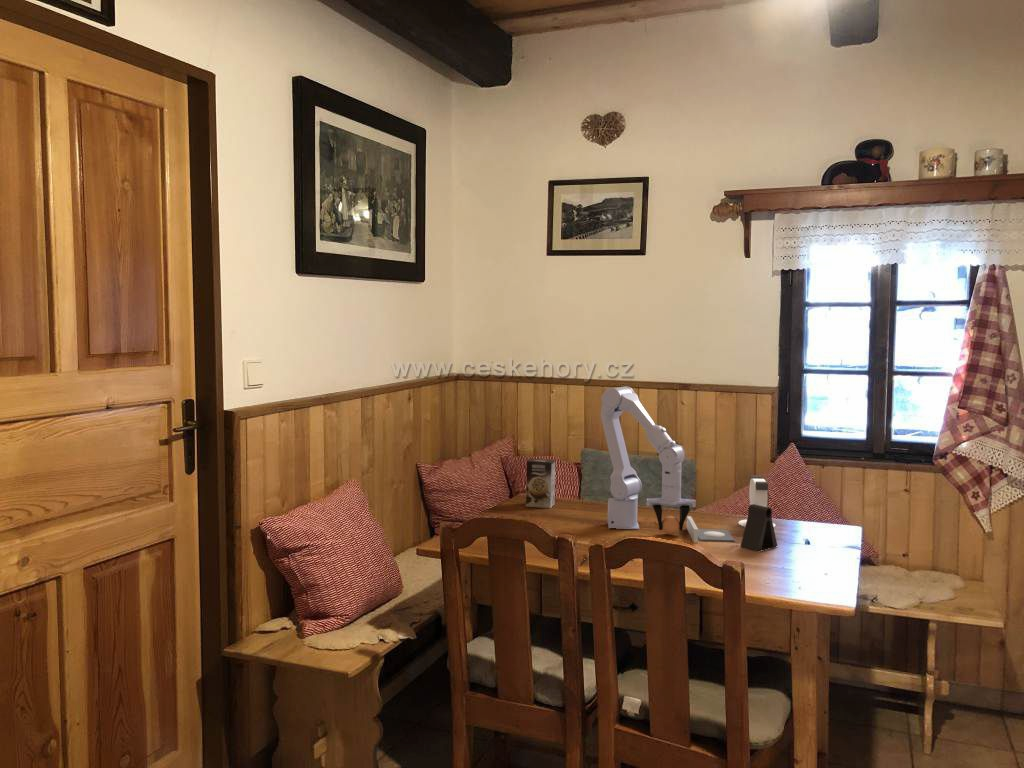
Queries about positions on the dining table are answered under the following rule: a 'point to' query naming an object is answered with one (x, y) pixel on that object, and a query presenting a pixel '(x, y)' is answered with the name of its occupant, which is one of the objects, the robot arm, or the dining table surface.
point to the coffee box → (540, 483)
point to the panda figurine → (757, 494)
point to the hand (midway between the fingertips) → (670, 529)
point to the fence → (692, 529)
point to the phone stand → (759, 529)
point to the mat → (714, 535)
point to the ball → (670, 525)
